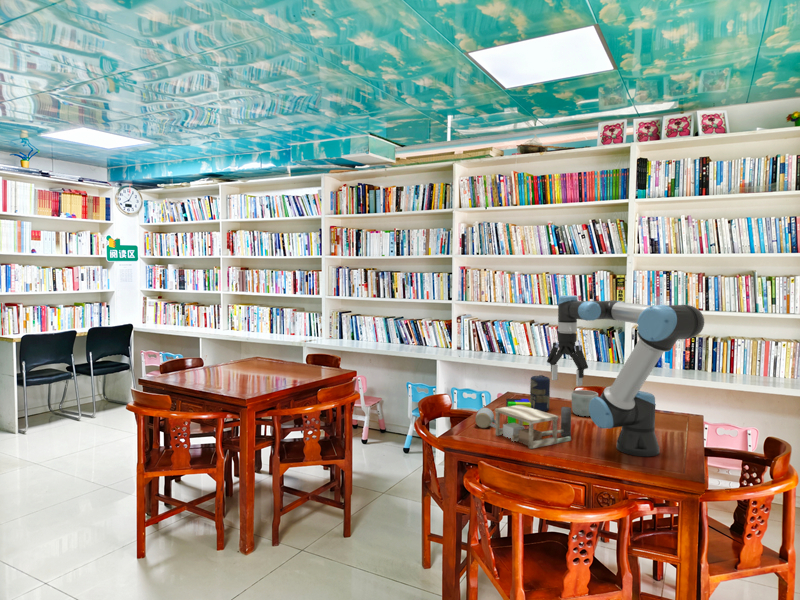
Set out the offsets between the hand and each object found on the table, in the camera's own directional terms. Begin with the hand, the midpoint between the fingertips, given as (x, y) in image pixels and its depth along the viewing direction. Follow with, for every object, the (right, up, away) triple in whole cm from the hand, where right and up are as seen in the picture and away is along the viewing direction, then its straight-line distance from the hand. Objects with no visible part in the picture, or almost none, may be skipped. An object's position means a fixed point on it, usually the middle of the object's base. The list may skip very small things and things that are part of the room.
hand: (566, 382), depth 223 cm
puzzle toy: (-15, -22, +22) cm, 35 cm away
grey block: (-22, -23, 0) cm, 32 cm away
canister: (+1, -21, +45) cm, 50 cm away
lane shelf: (-15, -23, -2) cm, 27 cm away
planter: (+20, -22, +36) cm, 47 cm away
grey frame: (-9, -23, -4) cm, 25 cm away
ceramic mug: (-31, -22, +15) cm, 41 cm away
